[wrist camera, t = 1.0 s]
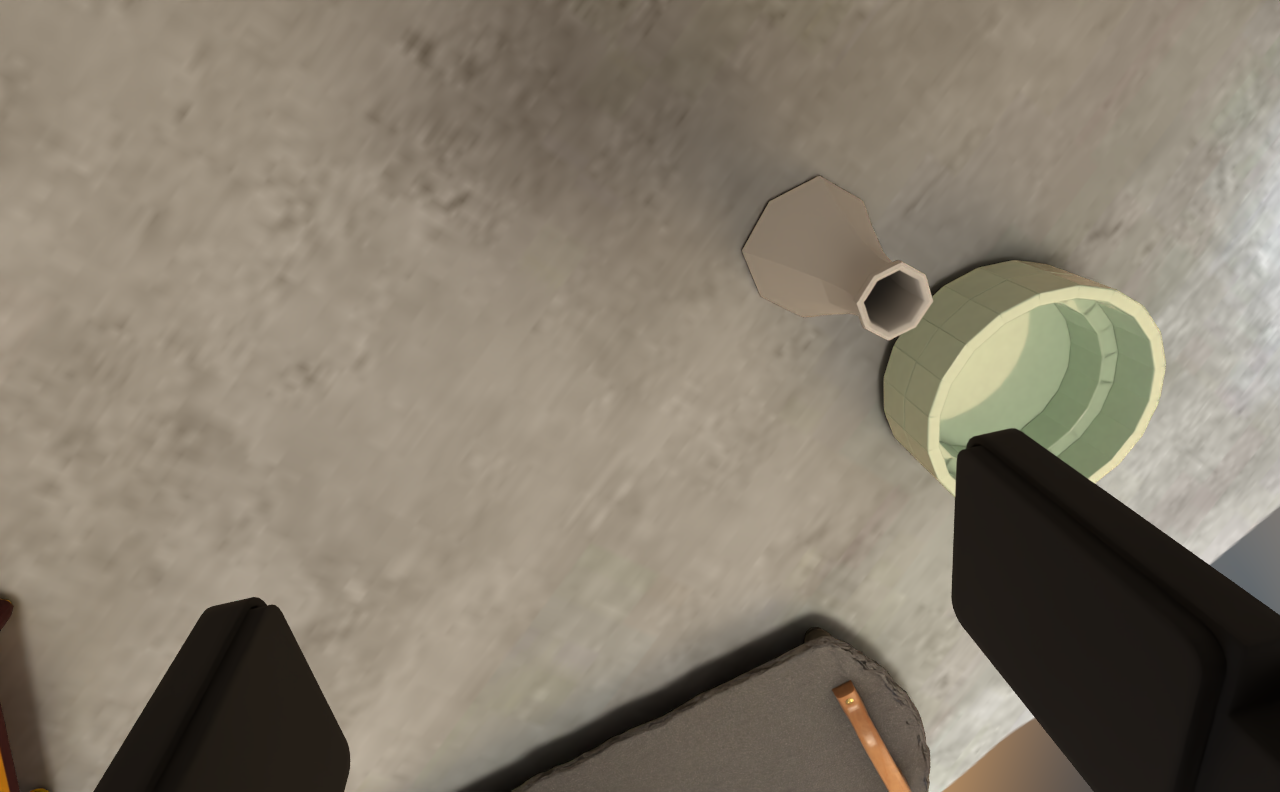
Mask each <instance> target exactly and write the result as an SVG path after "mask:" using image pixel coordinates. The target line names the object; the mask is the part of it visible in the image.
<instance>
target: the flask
mask: <svg viewBox="0 0 1280 792" xmlns="http://www.w3.org/2000/svg"><path fill="white" fill-rule="evenodd" d="M742 252H743V255H744V257H745V260H746V262H747V264H748V267H749V269H750V272H751V274H752V277H753V279H754V281H755V284H756V286H757V289H758V291H759V293H760V296H761V297H763V298H765V299H767V300H769V301H771V302H773V303H775V304H777V305H779V306H781V307H783V308H785V309H787V310H789V311H791V312H793V313H795V314H797V315H799V316H801V317H814V316H822V315H832V314H854V315H857V316H859V319H860V321H861V324H862V326H863V328H865V329H867V330H869V331H871V332H873V333H875V334H877V335H879V336H881V337H883V338H884V339H886V340H888V341H889V340H891V339H893V338H895V337H897V336H899V335H901V334H903V333H905V332H907V331H909V330H911V329H913V328H915V327H916V326H917V325H918V323H919V322H920V320H921V319H922V317H923V316H924V314H925V313H926V311H927V310H928V308H929V307H930V305H931V304H932V302H933V299H932V295H931V292H930V288H929V285H928V281H927V278H926V275H925V274H923V273H922V272H920V271H918V270H916V269H914V268H913V267H911V266H909V265H907V264H905V263H904V262H902V261H900V260H896V261H894V262H892V261H891V260H890V259H889V258H888V257H887V256H886V255H885V254H884V252H883V250H882V248H881V245H880V243H879V241H878V239H877V236H876V234H875V232H874V230H873V227H872V224H871V221H870V219H869V216H868V213H867V210H866V207H865V205H864V203H863V201H862V200H861V199H859V198H857V197H856V196H854V195H852V194H850V193H849V192H847V191H845V190H843V189H842V188H840V187H838V186H837V185H835V184H833V183H831V182H830V181H828V180H826V179H824V178H823V177H821V176H818V177H816V178H814V179H812V180H810V181H808V182H806V183H804V184H802V185H800V186H798V187H796V188H794V189H792V190H790V191H789V192H787V193H785V194H783V195H781V196H779V197H777V198H775V199H773V200H771V201H769V203H768V205H767V207H766V208H765V210H764V212H763V214H762V216H761V217H760V219H759V221H758V223H757V225H756V226H755V228H754V230H753V232H752V233H751V235H750V237H749V239H748V241H747V242H746V244H745V246H744V248H743V250H742Z"/></svg>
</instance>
